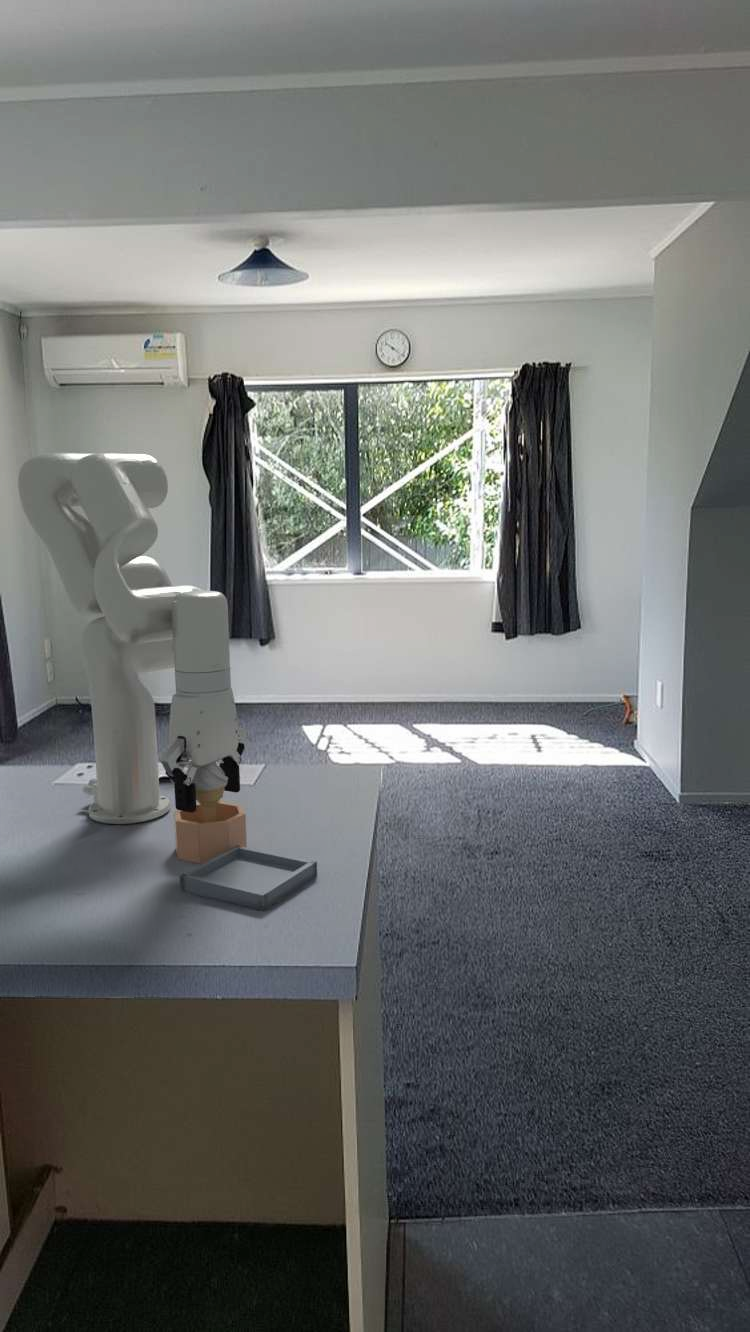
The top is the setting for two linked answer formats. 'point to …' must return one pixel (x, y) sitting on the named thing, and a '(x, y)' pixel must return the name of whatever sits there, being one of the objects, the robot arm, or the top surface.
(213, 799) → the ice cream cone
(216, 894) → the slate tray
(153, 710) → the robot arm
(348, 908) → the top surface
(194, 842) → the holder cup
